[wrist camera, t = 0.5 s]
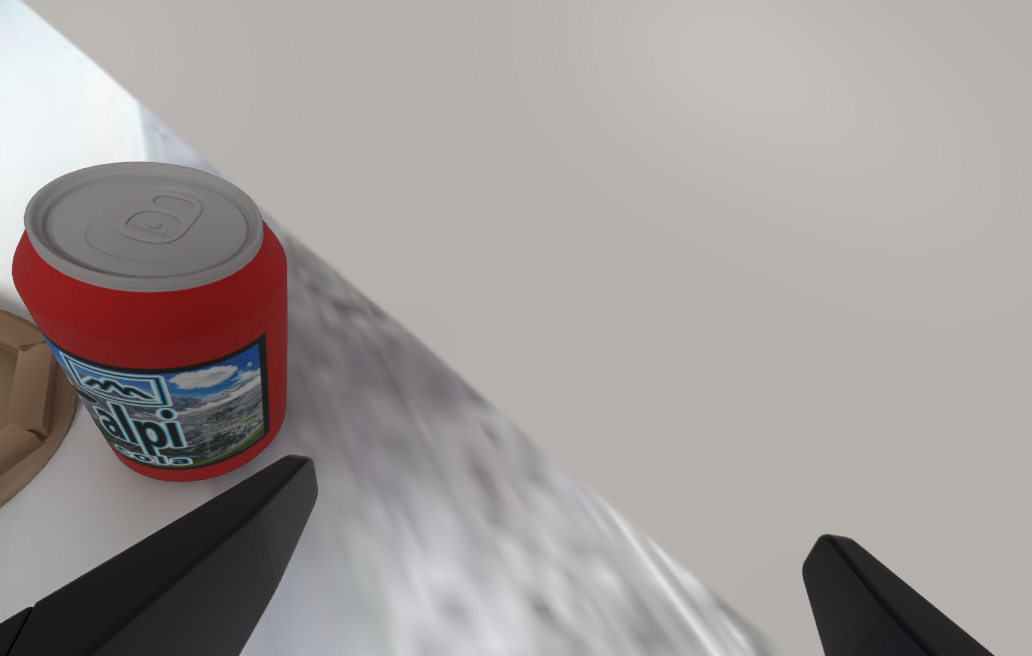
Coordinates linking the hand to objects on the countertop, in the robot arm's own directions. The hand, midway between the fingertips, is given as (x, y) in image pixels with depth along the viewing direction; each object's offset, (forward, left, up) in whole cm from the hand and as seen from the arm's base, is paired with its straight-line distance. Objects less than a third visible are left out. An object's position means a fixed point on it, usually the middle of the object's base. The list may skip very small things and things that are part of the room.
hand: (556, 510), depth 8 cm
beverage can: (+4, +13, -15) cm, 20 cm away
